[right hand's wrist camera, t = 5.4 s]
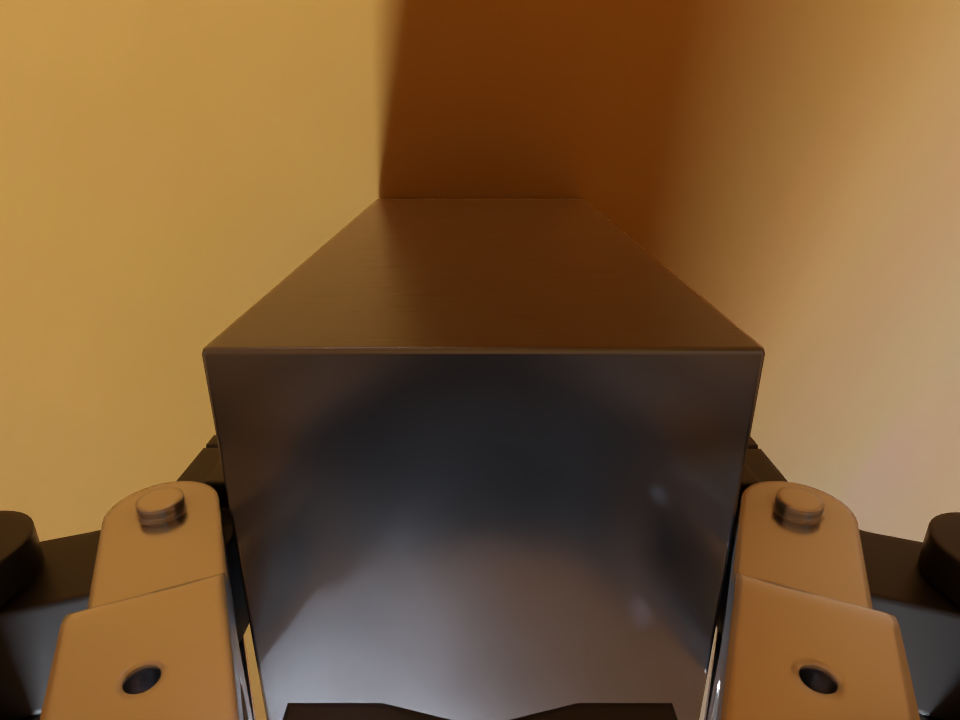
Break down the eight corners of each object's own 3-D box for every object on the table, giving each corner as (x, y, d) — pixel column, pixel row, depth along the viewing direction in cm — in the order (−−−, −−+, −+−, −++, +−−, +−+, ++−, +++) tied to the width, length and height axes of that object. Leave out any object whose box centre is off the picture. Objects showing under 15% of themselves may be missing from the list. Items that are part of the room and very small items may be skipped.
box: (377, 198, 17) (197, 349, 6) (585, 198, 17) (769, 348, 6) (413, 807, 26) (367, 1294, 16) (548, 807, 26) (597, 1294, 16)
